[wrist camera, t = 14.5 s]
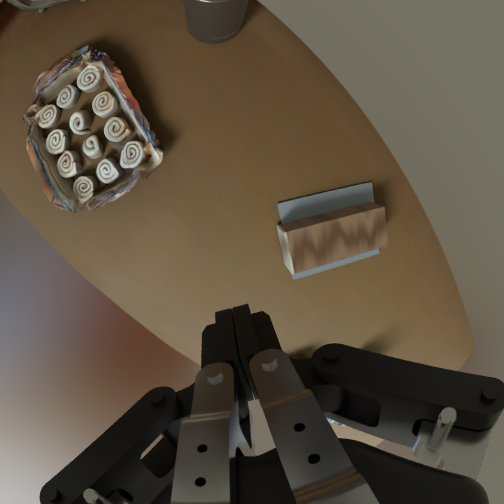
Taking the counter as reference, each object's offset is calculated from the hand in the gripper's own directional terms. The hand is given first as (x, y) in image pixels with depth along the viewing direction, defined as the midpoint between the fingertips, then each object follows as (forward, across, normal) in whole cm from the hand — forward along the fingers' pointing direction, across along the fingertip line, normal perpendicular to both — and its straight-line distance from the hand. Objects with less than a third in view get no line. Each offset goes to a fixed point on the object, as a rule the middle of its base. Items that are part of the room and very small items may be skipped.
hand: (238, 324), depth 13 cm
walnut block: (+32, +8, -9) cm, 34 cm away
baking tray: (+36, -19, +20) cm, 45 cm away
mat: (+35, +18, -9) cm, 41 cm away
